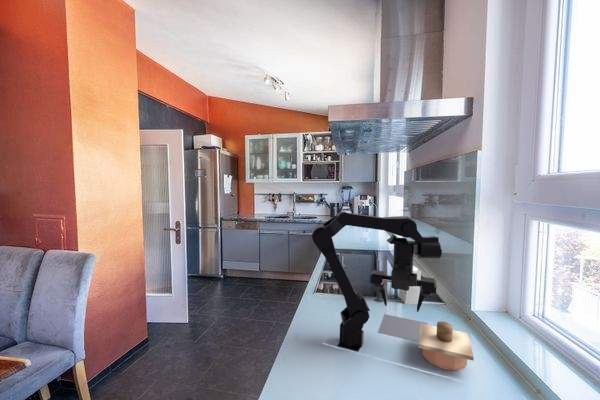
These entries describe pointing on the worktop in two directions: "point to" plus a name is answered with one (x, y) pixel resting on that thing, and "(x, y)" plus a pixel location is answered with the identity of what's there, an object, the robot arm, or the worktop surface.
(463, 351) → the lid
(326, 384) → the worktop surface
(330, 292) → the worktop surface
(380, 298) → the sundae
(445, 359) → the bowl
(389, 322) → the mat
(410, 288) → the skincare box
